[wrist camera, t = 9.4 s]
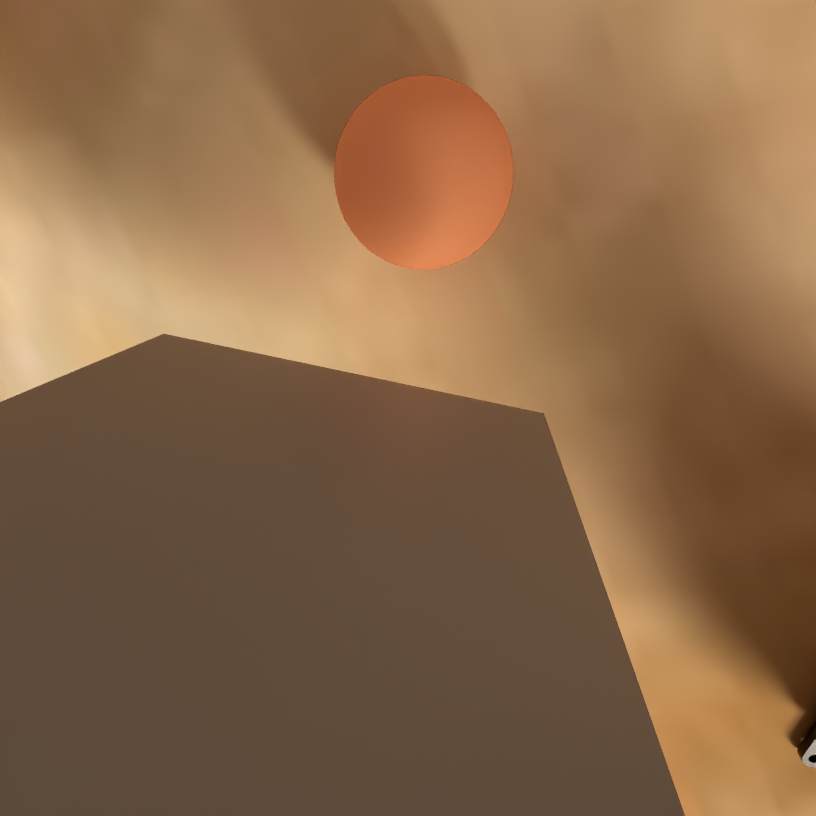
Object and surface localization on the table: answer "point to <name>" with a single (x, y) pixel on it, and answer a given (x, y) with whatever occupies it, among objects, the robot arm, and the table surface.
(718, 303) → the table surface
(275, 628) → the grey cube
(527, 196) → the table surface
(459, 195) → the ball
